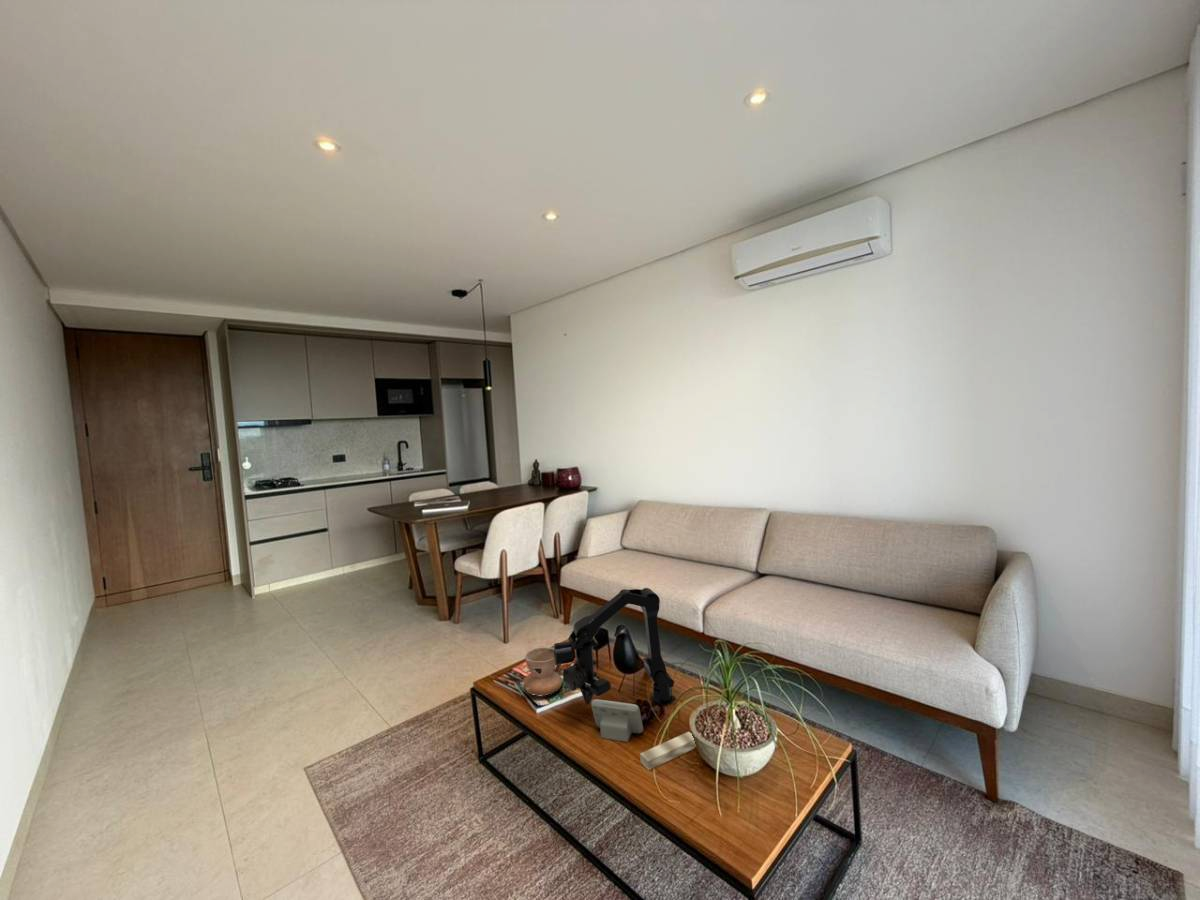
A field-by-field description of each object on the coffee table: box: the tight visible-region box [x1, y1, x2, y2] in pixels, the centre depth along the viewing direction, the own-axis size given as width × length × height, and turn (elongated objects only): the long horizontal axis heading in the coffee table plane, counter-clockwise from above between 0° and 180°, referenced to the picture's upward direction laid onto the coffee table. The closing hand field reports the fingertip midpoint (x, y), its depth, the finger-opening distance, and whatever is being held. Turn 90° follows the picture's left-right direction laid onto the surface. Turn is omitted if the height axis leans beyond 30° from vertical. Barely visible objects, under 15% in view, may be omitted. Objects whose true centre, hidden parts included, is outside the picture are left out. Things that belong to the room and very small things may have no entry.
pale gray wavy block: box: [639, 731, 697, 771], centre depth 145 cm, size 18×4×3 cm, turn 119°
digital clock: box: [590, 698, 644, 743], centre depth 157 cm, size 16×9×11 cm, turn 59°
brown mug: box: [522, 646, 563, 695], centre depth 185 cm, size 18×14×14 cm
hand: (587, 703), depth 167 cm, fingers closed
